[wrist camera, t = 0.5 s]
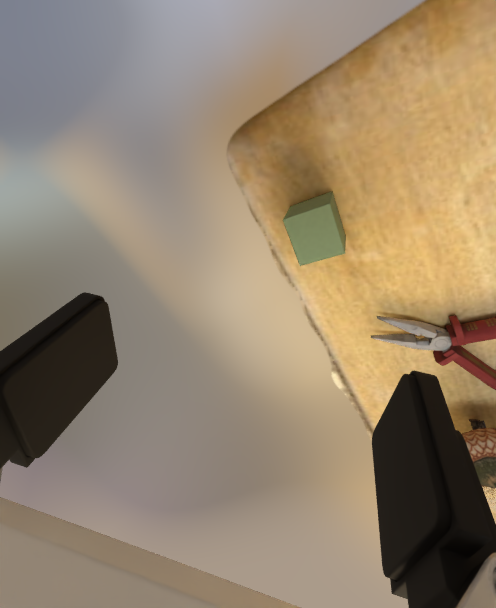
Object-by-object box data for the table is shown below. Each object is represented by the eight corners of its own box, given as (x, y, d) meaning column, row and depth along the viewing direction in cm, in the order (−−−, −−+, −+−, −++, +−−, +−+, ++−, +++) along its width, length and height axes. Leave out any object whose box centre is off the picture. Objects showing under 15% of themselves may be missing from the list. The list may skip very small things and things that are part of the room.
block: (305, 248, 36) (299, 266, 32) (289, 206, 33) (282, 219, 30) (345, 236, 34) (345, 253, 30) (332, 190, 32) (329, 203, 28)
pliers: (386, 279, 35) (388, 291, 33) (603, 311, 31) (622, 327, 29) (361, 356, 41) (362, 370, 39) (539, 391, 37) (551, 408, 35)
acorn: (425, 424, 44) (442, 496, 36) (466, 388, 40) (495, 463, 32) (482, 447, 44) (512, 526, 36) (530, 414, 39) (576, 497, 31)
